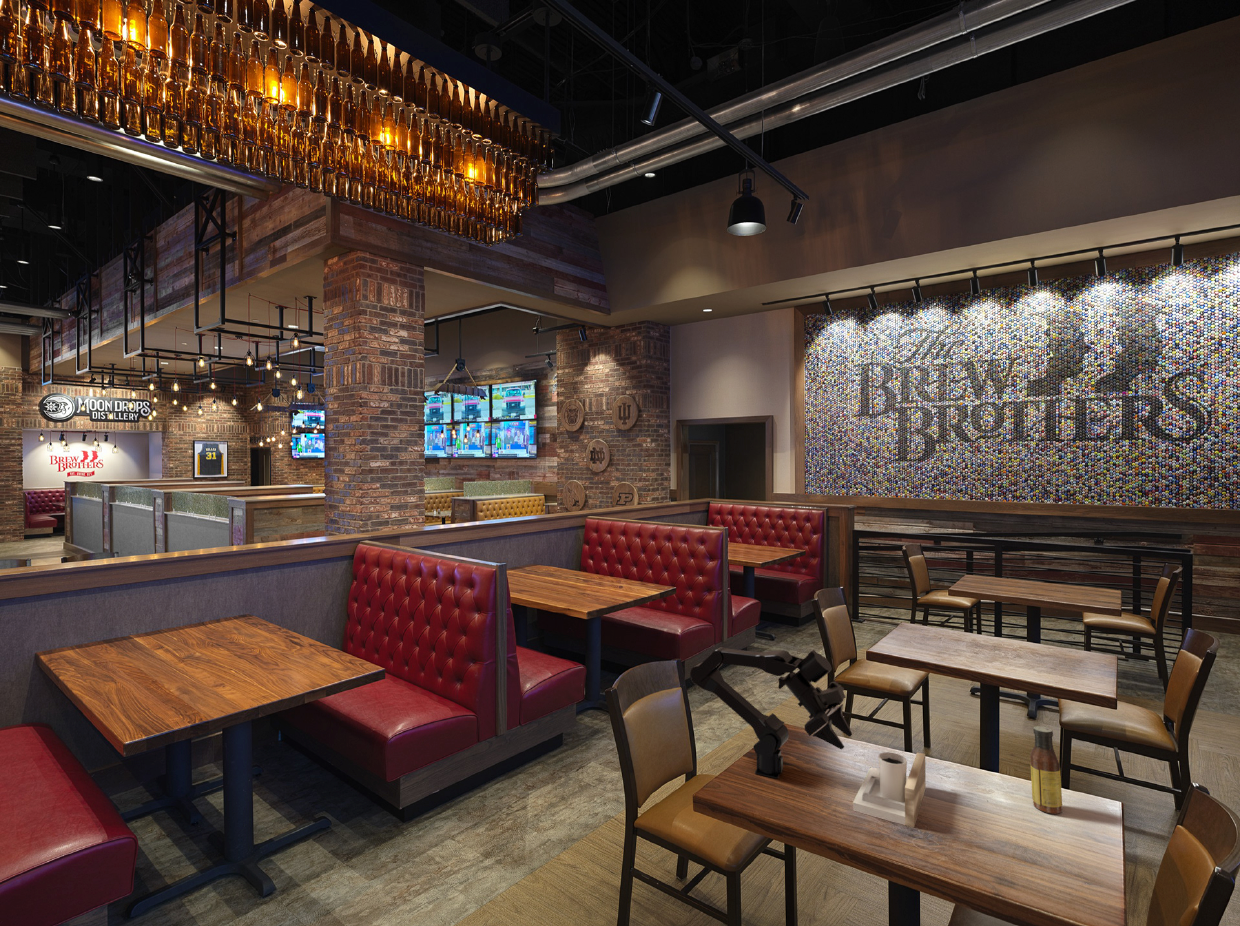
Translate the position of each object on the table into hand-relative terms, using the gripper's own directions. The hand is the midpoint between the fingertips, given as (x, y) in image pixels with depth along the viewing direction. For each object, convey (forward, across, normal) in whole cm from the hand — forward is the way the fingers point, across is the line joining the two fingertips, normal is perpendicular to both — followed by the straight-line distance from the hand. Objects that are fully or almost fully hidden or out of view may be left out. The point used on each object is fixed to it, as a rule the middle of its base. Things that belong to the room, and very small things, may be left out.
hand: (847, 741), depth 165 cm
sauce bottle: (+41, +19, -21) cm, 50 cm away
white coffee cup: (+16, 0, 0) cm, 16 cm away
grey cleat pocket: (+16, +3, +3) cm, 17 cm away
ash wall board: (+21, +3, -2) cm, 21 cm away
